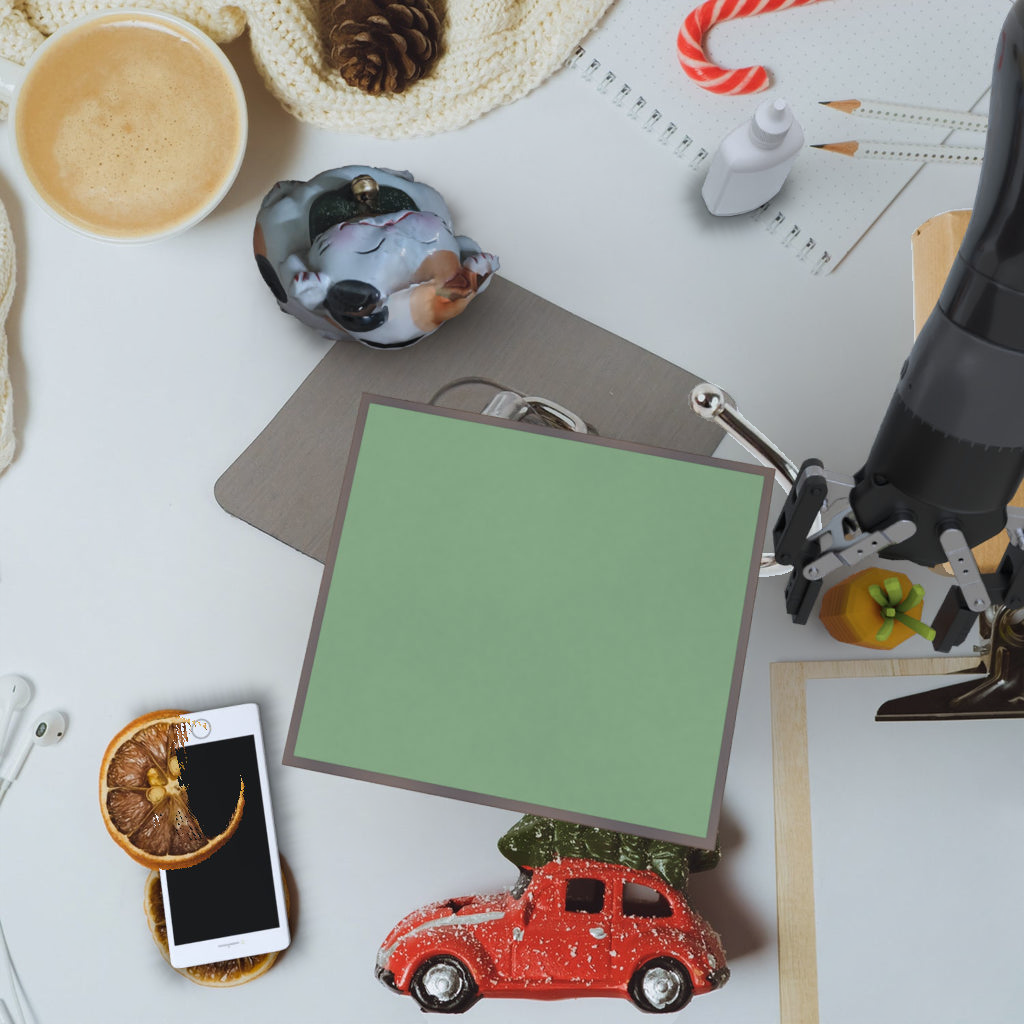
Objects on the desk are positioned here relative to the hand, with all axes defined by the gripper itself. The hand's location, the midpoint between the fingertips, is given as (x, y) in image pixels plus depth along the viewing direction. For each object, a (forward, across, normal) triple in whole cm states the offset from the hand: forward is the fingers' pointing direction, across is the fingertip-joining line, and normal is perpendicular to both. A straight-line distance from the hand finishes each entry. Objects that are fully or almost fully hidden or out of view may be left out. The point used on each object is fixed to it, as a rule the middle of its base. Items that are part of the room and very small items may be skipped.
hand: (867, 629), depth 63 cm
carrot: (+5, 0, +7) cm, 9 cm away
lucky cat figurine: (-8, -35, +20) cm, 41 cm away
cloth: (-11, -20, -17) cm, 28 cm away
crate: (+9, -20, +3) cm, 22 cm away
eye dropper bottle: (-15, -11, +27) cm, 33 cm away
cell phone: (+21, -38, -9) cm, 44 cm away
